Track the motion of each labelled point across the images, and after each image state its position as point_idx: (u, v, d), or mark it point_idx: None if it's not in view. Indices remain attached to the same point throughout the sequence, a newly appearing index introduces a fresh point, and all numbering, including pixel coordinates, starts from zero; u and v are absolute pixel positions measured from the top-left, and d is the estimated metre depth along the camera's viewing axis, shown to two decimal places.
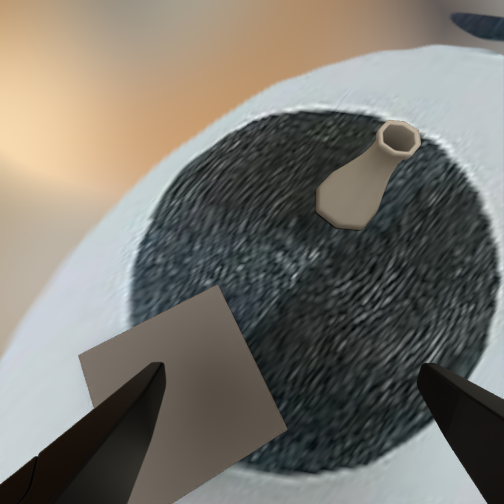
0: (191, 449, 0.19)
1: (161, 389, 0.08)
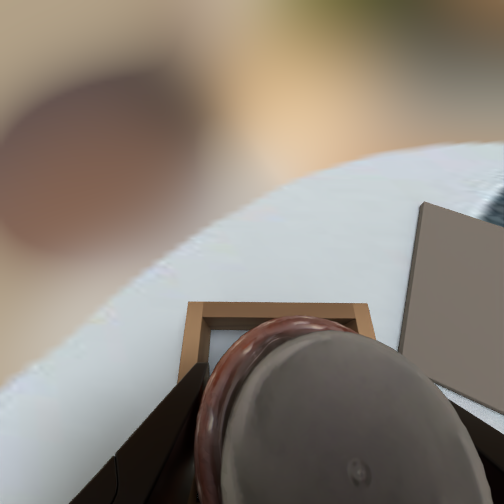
0: None
1: None
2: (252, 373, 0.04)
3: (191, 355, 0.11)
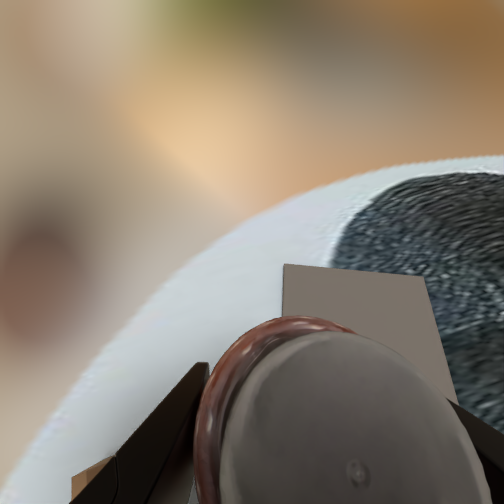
0: None
1: None
2: (251, 374, 0.04)
3: None
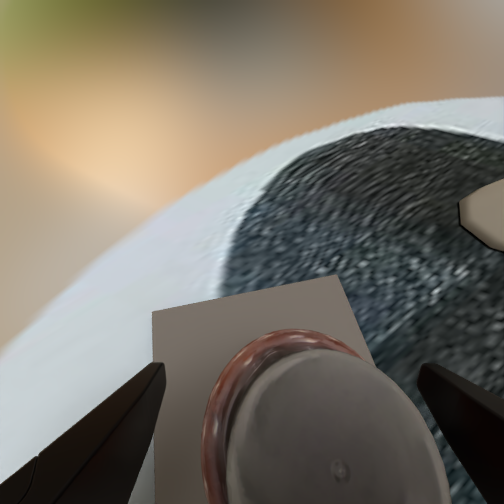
0: None
1: (161, 389, 0.08)
2: (252, 386, 0.05)
3: None
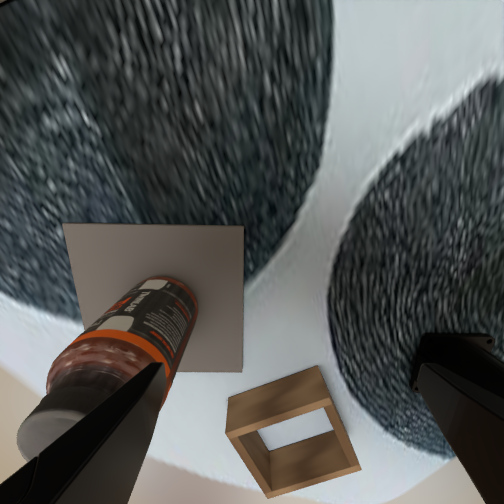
0: (213, 314, 0.20)
1: (161, 389, 0.08)
2: None
3: (290, 487, 0.22)
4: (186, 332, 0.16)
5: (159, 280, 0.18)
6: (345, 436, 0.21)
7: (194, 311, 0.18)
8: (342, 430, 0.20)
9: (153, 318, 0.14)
